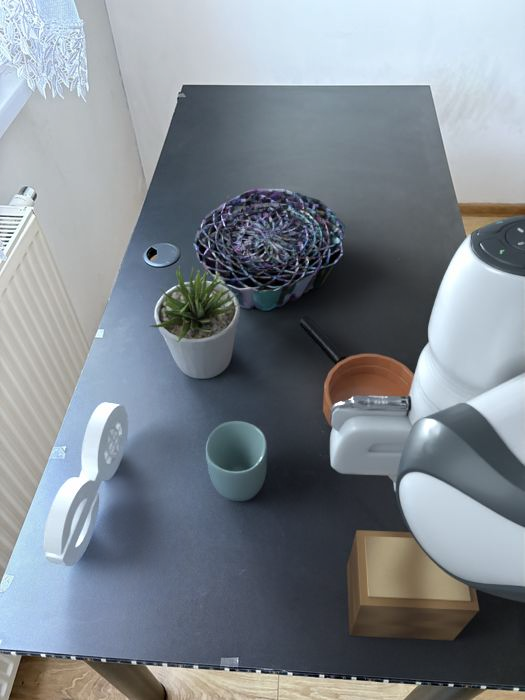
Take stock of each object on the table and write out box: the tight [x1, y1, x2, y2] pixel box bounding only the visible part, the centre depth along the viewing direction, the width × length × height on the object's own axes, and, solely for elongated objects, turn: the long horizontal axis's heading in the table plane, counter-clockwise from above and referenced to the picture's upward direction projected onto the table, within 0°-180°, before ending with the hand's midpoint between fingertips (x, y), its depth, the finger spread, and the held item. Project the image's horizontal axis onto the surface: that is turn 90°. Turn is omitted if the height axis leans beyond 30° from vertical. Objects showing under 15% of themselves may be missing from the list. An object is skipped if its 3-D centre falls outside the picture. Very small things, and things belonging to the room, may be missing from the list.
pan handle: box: [298, 316, 347, 366], centre depth 95 cm, size 10×2×2 cm, turn 32°
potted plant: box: [149, 265, 241, 380], centre depth 89 cm, size 13×14×20 cm
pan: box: [322, 353, 415, 428], centre depth 89 cm, size 14×14×4 cm
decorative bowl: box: [192, 188, 346, 312], centre depth 107 cm, size 26×28×10 cm
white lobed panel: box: [43, 402, 129, 567], centre depth 78 cm, size 22×2×10 cm, turn 169°
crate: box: [346, 529, 480, 641], centre depth 68 cm, size 12×8×12 cm, turn 87°
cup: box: [205, 420, 268, 502], centre depth 79 cm, size 8×8×10 cm
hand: (432, 486), depth 56 cm, fingers closed on block, 4 cm apart
